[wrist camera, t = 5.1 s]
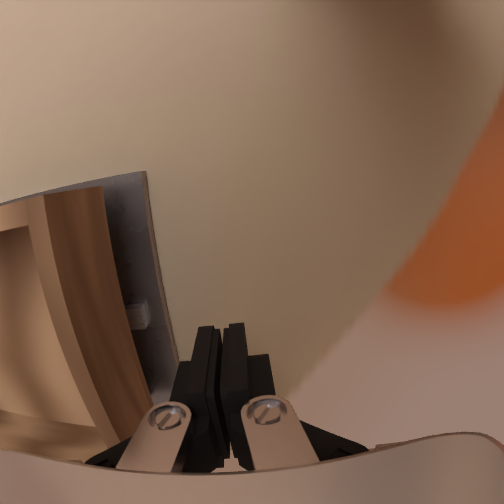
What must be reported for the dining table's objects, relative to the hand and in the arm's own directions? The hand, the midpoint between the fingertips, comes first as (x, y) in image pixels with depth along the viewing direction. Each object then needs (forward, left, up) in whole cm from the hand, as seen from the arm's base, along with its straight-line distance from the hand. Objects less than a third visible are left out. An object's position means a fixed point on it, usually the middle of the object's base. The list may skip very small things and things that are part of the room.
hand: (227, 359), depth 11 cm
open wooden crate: (+11, 0, -6) cm, 13 cm away
